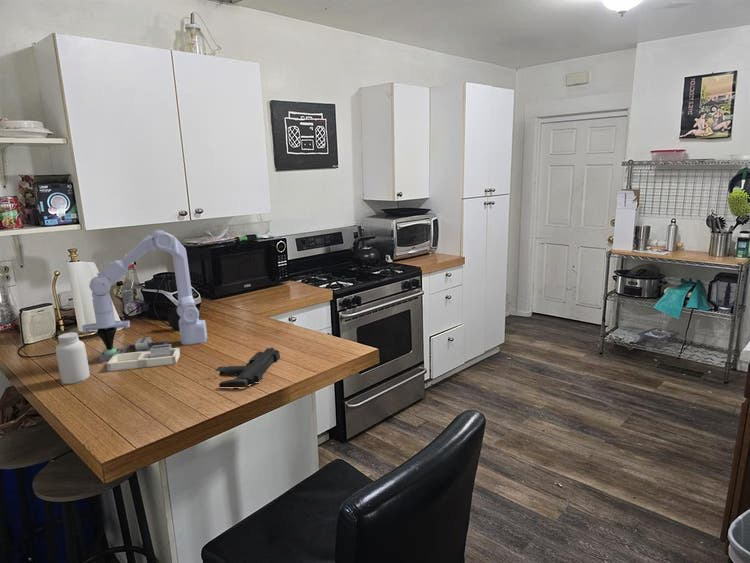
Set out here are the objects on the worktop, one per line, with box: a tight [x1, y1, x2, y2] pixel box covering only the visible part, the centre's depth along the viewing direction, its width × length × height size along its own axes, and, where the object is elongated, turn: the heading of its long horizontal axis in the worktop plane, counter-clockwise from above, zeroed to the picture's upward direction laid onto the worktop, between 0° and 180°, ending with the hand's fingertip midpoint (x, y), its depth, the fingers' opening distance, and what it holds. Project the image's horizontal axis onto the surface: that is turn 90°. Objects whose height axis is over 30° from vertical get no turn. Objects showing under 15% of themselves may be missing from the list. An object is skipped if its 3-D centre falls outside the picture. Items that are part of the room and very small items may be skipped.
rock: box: [166, 307, 202, 330], centre depth 203 cm, size 13×4×10 cm, turn 91°
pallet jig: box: [106, 347, 181, 372], centre depth 165 cm, size 21×9×4 cm, turn 103°
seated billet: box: [150, 343, 173, 358], centre depth 166 cm, size 4×6×5 cm, turn 103°
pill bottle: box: [55, 331, 91, 385], centre depth 154 cm, size 8×8×15 cm
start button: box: [103, 346, 118, 355], centre depth 171 cm, size 4×4×3 cm
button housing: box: [98, 347, 123, 364], centre depth 171 cm, size 6×6×3 cm
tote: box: [121, 340, 169, 354], centre depth 175 cm, size 14×12×2 cm
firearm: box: [214, 347, 281, 388], centre depth 160 cm, size 3×30×20 cm
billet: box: [134, 336, 153, 352], centre depth 175 cm, size 4×6×5 cm, turn 13°
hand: (110, 348), depth 171 cm, fingers closed
